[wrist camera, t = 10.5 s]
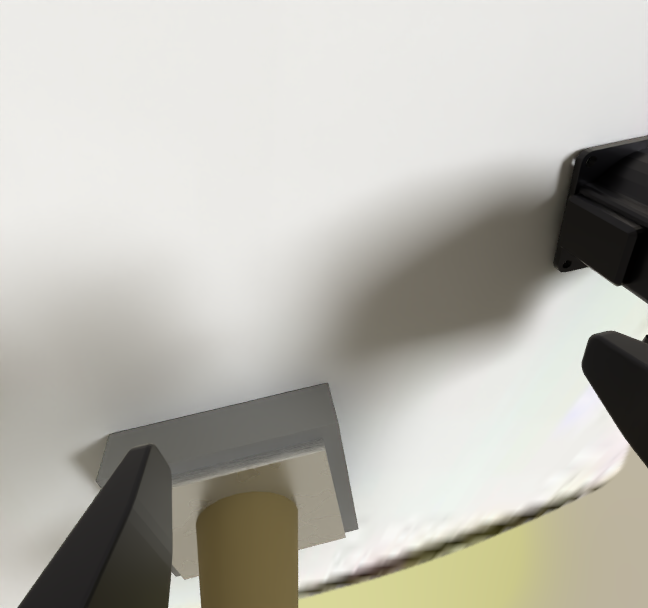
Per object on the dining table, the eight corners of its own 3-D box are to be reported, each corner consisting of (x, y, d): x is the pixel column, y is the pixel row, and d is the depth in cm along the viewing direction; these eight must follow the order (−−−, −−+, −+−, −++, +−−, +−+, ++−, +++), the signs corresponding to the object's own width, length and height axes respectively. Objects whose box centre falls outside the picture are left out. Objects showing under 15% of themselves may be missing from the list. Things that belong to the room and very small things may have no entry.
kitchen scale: (327, 382, 25) (341, 434, 22) (349, 493, 32) (361, 543, 29) (109, 434, 24) (91, 495, 21) (182, 536, 32) (177, 592, 29)
